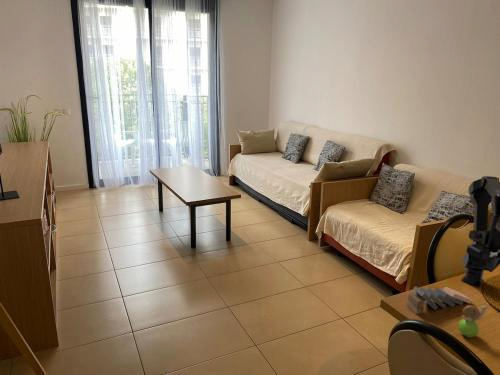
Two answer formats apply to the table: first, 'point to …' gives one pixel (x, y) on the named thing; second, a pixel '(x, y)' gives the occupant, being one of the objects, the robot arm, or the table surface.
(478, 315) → the snail figurine
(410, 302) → the stop block
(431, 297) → the domino
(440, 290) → the domino
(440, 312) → the table surface
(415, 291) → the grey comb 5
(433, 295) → the domino
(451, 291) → the domino
